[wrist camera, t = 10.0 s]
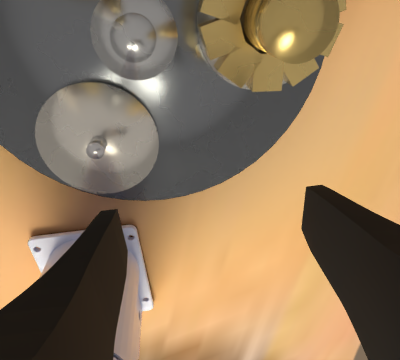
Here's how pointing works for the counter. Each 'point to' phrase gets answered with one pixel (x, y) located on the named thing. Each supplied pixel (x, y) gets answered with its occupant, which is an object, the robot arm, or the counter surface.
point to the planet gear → (269, 39)
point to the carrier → (130, 98)
